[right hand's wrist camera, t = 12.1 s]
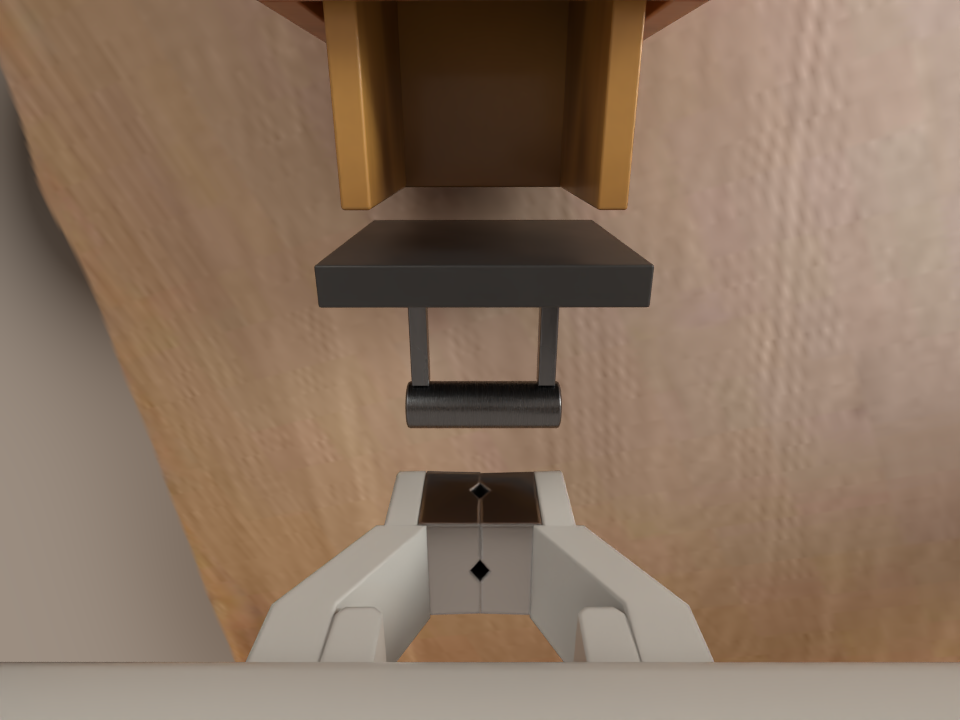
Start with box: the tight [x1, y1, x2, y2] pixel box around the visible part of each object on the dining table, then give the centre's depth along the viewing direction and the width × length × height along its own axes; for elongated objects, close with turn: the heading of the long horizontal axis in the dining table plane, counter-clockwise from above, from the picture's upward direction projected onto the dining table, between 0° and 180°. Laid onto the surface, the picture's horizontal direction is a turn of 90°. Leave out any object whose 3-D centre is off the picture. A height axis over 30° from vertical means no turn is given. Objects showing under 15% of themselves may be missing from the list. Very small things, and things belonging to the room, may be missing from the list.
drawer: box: [314, 0, 654, 428], centre depth 17 cm, size 23×9×9 cm, turn 0°
